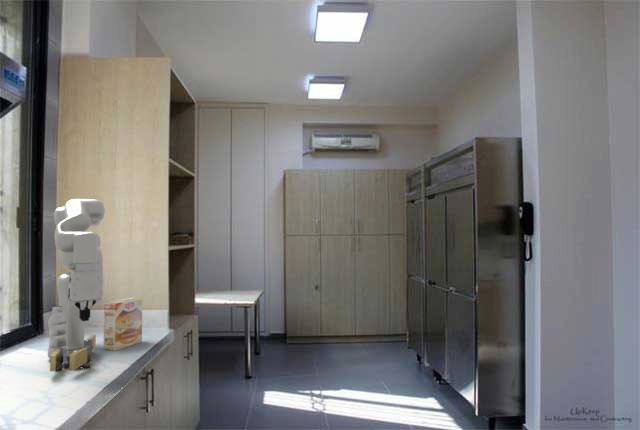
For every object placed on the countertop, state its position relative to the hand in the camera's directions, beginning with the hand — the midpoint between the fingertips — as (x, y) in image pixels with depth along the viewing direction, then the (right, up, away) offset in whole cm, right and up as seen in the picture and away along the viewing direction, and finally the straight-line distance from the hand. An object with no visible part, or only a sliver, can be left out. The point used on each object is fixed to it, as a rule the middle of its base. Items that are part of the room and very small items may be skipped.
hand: (84, 320), depth 150 cm
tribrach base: (-7, -18, +7) cm, 21 cm away
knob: (-8, -19, +18) cm, 27 cm away
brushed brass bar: (-9, -18, -2) cm, 20 cm away
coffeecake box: (-2, -20, +35) cm, 40 cm away
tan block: (-1, -18, 0) cm, 18 cm away
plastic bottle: (-19, -19, +16) cm, 31 cm away
